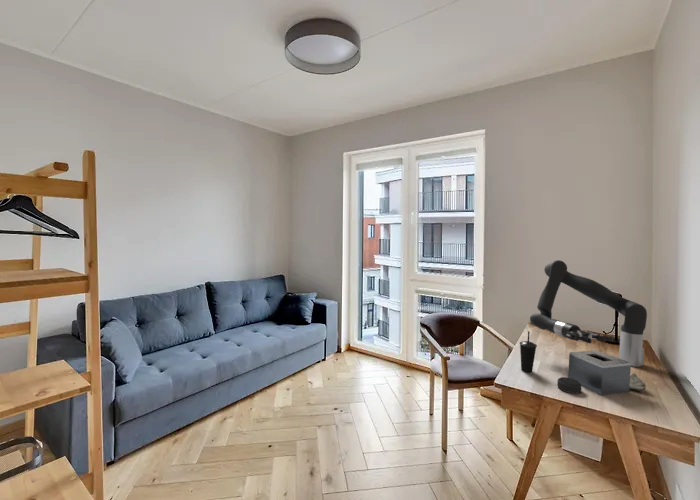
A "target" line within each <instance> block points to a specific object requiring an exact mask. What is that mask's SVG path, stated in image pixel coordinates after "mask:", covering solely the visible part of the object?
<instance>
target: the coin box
mask: <svg viewBox="0 0 700 500" xmlns="http://www.w3.org/2000/svg"><path fill="white" fill-rule="evenodd" d="M568 354H569V355H568V370H567V371H568V372H567V373H568V374H567V378H572V379H574V380H577V381H578V382H580V383H581V387H583V388H584V389H587V390H589V391H591V392H593V393H595V394H597V395H599V396H606V395H617V394H622V393H623V394H624V393H630V389H629V385H630V375H631V370H632V369H631V368H632V366H631V363H630V362H627V361H625V360H622V359H619V357H616V356H613V355H610V354H608V353H605V352H602V351H599V350H597V349H593V350H583V351H580V350H579V351H570V352H569V353H568Z"/></svg>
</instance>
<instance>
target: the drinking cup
mask: <svg viewBox="0 0 700 500" xmlns="http://www.w3.org/2000/svg"><path fill="white" fill-rule="evenodd" d="M537 347H538V345H537V344H536V343H534V342H532V341H530V331H527V340H523V341H520V342H519V349H520V351H519V352H520V370H521V371H522V372H523V373H526V374H527V373H528V374H531V373H533V369H534V363H535V358H536V357H535V355H536V350H537Z"/></svg>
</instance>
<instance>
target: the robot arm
mask: <svg viewBox="0 0 700 500" xmlns="http://www.w3.org/2000/svg"><path fill="white" fill-rule="evenodd" d="M543 270H544V273H545V275H546V276H547V277H548V280H547V282H546V285H545V286H544V289H543V290H542V292H541V294H540V297H539V300H538V303H537V306H536V307H537V310H538V311H539V312H540V313H536V312H535V313H533V314H532V315H530V318H529V321H530V323H531V325H532V326H535V327H536V328H538V329H540V330H542V331H543V330H544V331H545V330H546V331H549V332H550V333H553V334H556V335H558V336H560V337H562V338H565V339H567V340H568V339H569V340H571V341H576V342H579V341H580V342H585V343H587V344H591V343H592V340H596V341H600V342H602V343H605V342H607V338H606V336H602V335H601V333H599V332H595V331H591V330H583V329H581V328H580V327H579V326H578V325H577V324H572V323H569V322H567V321H562V320H558V319H555V318H552V309H553V307H554V303H555V300H556V297H557V294H558V291H559V288H560V286H561V283H562V284H564V285H566V286H568V287H570V288H572V289H573V290H575V291H577V292H578V293H581V294H582V295H583V296H585V297H588V298H590V299H591V300H594V301H596V302H598V303H601V304H603V305H606V306H609V308H612V309H613V310H615V311H616V312H618V313H620V314H621V315H622V316H623V317H624V321H623V324H621V326H620V338H619V350H618V358H619V359H622V360H625V361H627V362H630V363H631V367H635V368H637V367H641V366H642V367H643V366H644V356H645V348H644V347H643V343H644V331H645V330H646V326H647V319H648V318H647V317H648V312H647V311H648V310H647V309H646V307H645V306H643V304H640V303H638V302H636V301H632V300H629V299H627V298H624V297H622V296H620V295H618V294H616V293H615V292H613V291H612V290H610V289H609V288H608V287H606V286H605V285H603V284H602V283H599V282H597V281H595V280H593V279H591V278H588V277H584V276H580V275H577V274H574V273H572V272H570V271H568V266H567V264H566V262H564V261H562V260H558V259H557V260H553V261H551V262H550V263H547V264H546V265H545V266H544V269H543Z"/></svg>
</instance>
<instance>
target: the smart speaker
mask: <svg viewBox="0 0 700 500" xmlns="http://www.w3.org/2000/svg"><path fill="white" fill-rule="evenodd" d="M556 383H557V384H556V385H557V388H558V389H560V390H561V391H563V392H565V393H569V394H579V393H582V386H581V383H580V382H578V381H577V380H574V379H572V378H568V376H567V377H565V376H564V377H562V376H561V377H559V378H558V379H557V381H556Z"/></svg>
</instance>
